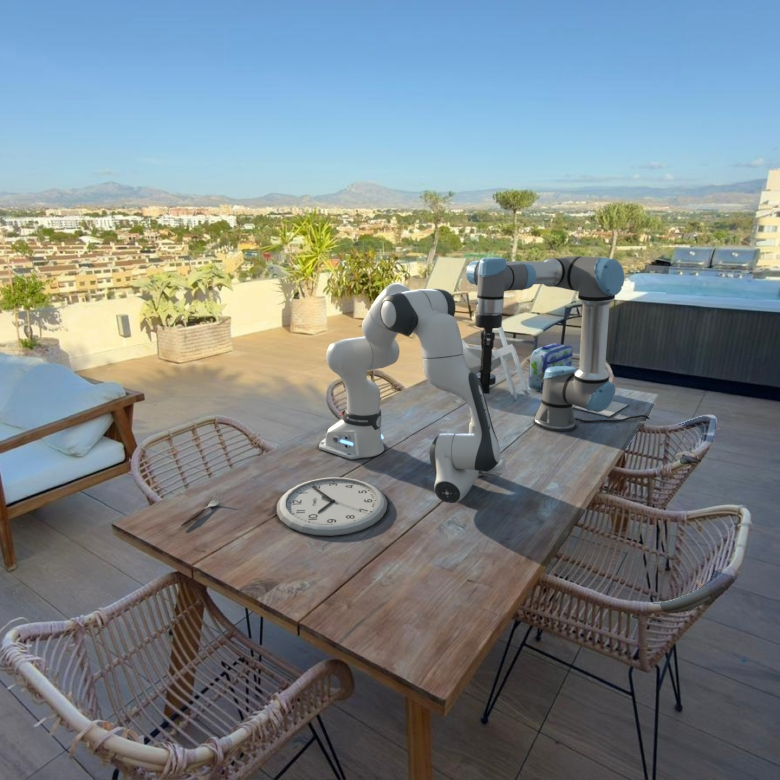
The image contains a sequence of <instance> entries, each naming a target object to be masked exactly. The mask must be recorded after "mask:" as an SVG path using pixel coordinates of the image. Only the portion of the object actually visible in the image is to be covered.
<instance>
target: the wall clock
mask: <svg viewBox="0 0 780 780" xmlns="http://www.w3.org/2000/svg"><path fill="white" fill-rule="evenodd" d="M387 509H388V500H387V498H386V496H385V494H384V493H383V492H382V491H381V490H380V489H379V488H377V487H376V486H374V485H372V484H371V483H369V482H365V481H362V480H359V479H355V478H349V477H338V476H337V477H335V476H333V477H332V476H331V477H322V478H317V479H312V480H307V481H305V482H302V483H299V484H297V485H295V486H293V487H292V488H290V489H288V490H287V491H286V492H285V493H284V494H283V495H281V496H280V498H279V499H278V502H277V503H276V515H277V517H278V518H279V520H280V521H281V522H282V523H283V524H285V525H286V526H287V527H288V528H290V529H293V530H295V531H297V532H299V533H303V534H308V535H312V536H327V537H328V536H329V537H331V536H332V537H333V536H342V535H350V534H352V533H356V532H361V531H363V530H366V529H368V528H369V527H372V526H373V525H375V524H376V523H378V522H379V521H380V520H381V519H382V518H383V517H384V516H385V514H386V512H387Z"/></svg>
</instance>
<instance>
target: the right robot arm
mask: <svg viewBox="0 0 780 780" xmlns="http://www.w3.org/2000/svg"><path fill="white" fill-rule="evenodd" d="M465 277H466V280H467V282H468V283H469V284H471V285H475V286H477V288H476V289H477V290H476V291H477V293H476V294H477V295H476V300H475V301H474V303H473V304H474V305H476V307H475V308H476V309H475V310H476V312H477V313H476V314H475V323H474V324H475V326H476V327H477V328H479V329H482V331H481V332H480V345H481V348H482V354H481V367H480V370H479V372H480V373H481V380H480V383H481V386H482V389H483V392H484V395H485V394H486V395H489V394H490V388H491V387H490V386H491V385H490V374H492V372H491V365H492V362H491V359H492V350H494V345H495V343H494V341H495V339H496V333H495V332H493V330H494V329H498V328H500V327H501V326H502V327H503V315H502V313H503V312H504V301H505V292H509V291H511V292H512V291H524V290H528V289H531V288H532V287H534V285H544V286H545V287H549V288H552V287H553V288H560V289H564V290H568V291H569V290H570V291H574V292H578V293H577V299H578V300H579V302H580V303H581V304H582V308H581V327H580V343H579V344H580V346H579V362H578V363H579V365H578V368H577V367H575V366H572V365H571V366H555V367H549V368H547V369H546V370H545V375H544V378H543V379H544V381H543V391H541V392H542V394H541V402H540V405H539V407H538V410H537V411H536V413H535V414H534V424H535V425H536V426H537V427H539V428H542V429H544V430H549V431H556V432H567V431H572V430H574V429H575V428H576V421H577V422H582V423H604V422H607V423H616V422H617V423H618V422H624V421H628V420H632V419H637V418H645V419H647V420H650V419H651V418H650V417H649V416H648V415H645V414H638V415H633V416H632V415H631V416H628V417H625V418H619V419H581V418H578V417H576V416H575V413H574V407H576V406H578V407H581V408H584V409H587V410H589V411H594V412H601V411H603V410H605V409H606V408H607V407H608V406H609V405H610V403H611V402H612V401H614V397H615V394H616V386H615V383H613V382H612V381H610V373H609V371H607V370H606V362H607V361H606V359H607V347H608V346H607V344H608V333H609V332H608V331H609V320H610V319H609V318H610V316H609V315H610V306H611V305H610V304H611V303H612V302H613V301H614V300H615V298H616V296H617V295H618V294H620V292H621V291H622V289H623V288H622V287H624V283H625V271H624V268H623V266H622V264H621V263H620V262H619V261H618V260H616V259H615V258H609V257H601V256H581V255H573V256H565V257H563V256H562V257H556V258H555V257H554V258H553V257H552V258H547V259H545V260H544V261H543V260H542V261H541V260H539V261H538V260H536V261H535V260H534V261H533V260H531V261H529V260H527V261H526V260H525V261H524V260H522V261H521V260H519V261H518V260H515V261H514V260H512V261H510V260H509V261H508V260H507V259H506V258H504V257H483V258H481V259H479V260H473V261H471V262H470V263H469V264H468V265H467V267H466V272H465ZM573 406H574V407H573Z"/></svg>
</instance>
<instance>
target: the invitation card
mask: <svg viewBox="0 0 780 780" xmlns="http://www.w3.org/2000/svg"><path fill="white" fill-rule="evenodd" d="M628 406H629V404H627V403H623V402H618V401H614V400H612V402H611V403H610V405H609V406H608V407H607V408H606V409H605V410H603V411H601V412H594V411H589V410H587V409H584V408H581V407H578V406H574V407H573V409H575V410H581V411H584V412H587V413H593V414H596V415H600V416H604V417H608V418H609V417H611V416H613V415H614V414H616V413H617V412H619V411H621V410H623V409H624V408H626V407H628Z"/></svg>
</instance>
